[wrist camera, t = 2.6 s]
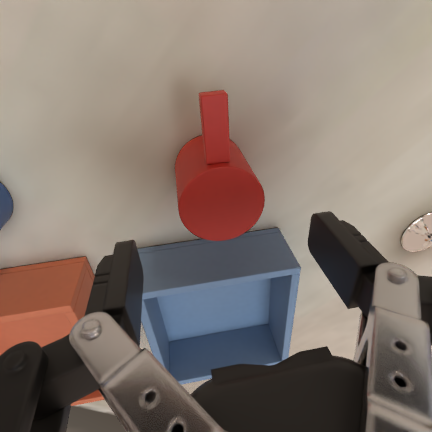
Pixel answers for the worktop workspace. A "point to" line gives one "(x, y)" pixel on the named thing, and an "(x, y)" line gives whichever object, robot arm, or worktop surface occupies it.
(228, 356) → the blue bin
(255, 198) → the red scoop
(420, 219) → the wineglass
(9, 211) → the blue scoop
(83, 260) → the red bin
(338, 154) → the worktop surface
